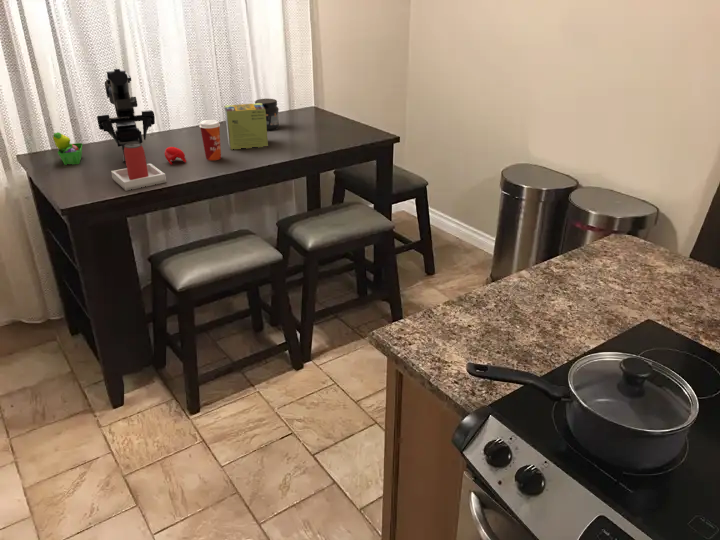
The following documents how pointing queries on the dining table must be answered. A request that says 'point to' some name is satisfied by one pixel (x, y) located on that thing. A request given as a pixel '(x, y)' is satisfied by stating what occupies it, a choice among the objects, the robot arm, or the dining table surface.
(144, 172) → the beer can
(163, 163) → the dining table surface
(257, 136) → the protein box
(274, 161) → the dining table surface
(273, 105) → the supplement container
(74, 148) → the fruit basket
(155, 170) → the tray
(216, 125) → the paper cup
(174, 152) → the cap
